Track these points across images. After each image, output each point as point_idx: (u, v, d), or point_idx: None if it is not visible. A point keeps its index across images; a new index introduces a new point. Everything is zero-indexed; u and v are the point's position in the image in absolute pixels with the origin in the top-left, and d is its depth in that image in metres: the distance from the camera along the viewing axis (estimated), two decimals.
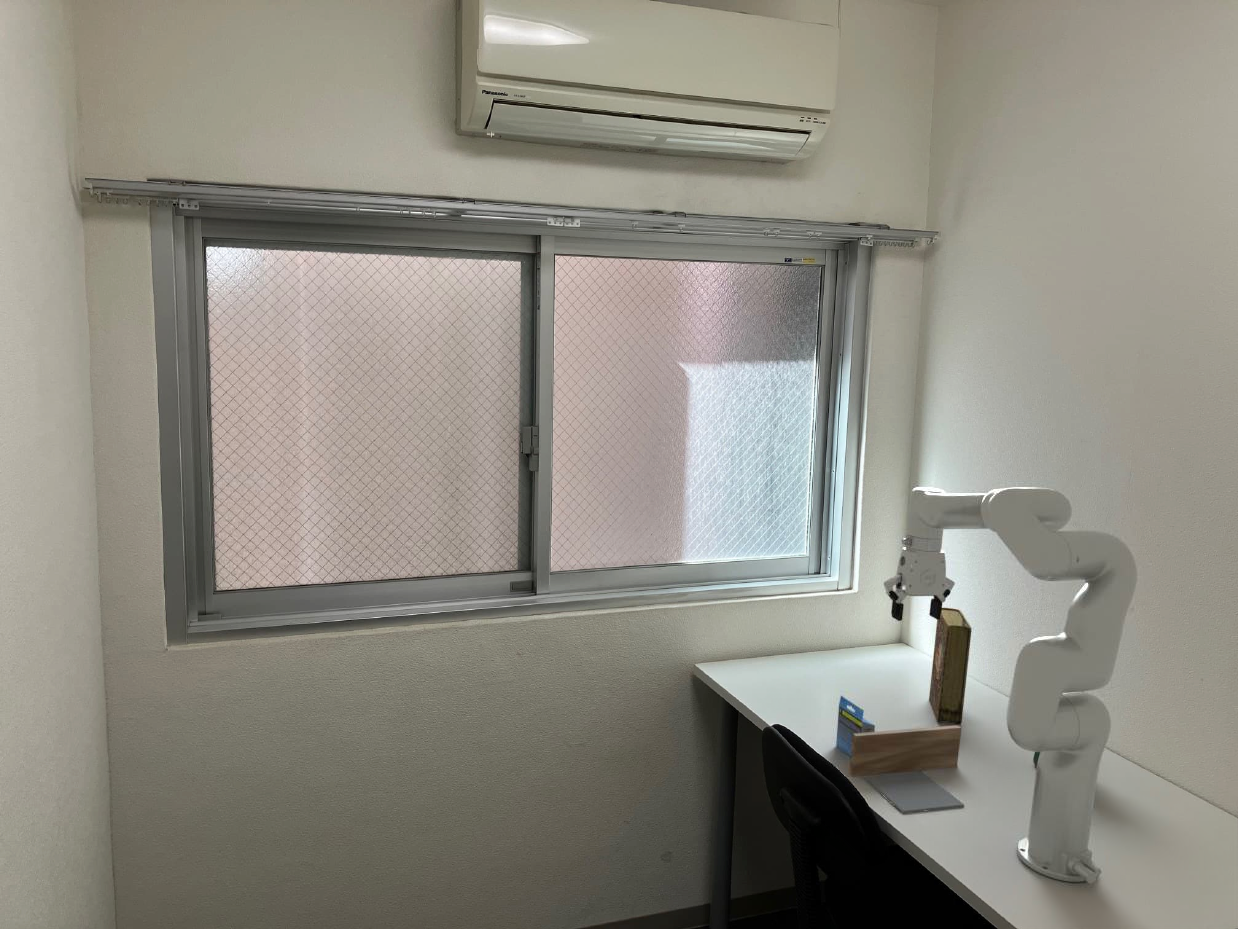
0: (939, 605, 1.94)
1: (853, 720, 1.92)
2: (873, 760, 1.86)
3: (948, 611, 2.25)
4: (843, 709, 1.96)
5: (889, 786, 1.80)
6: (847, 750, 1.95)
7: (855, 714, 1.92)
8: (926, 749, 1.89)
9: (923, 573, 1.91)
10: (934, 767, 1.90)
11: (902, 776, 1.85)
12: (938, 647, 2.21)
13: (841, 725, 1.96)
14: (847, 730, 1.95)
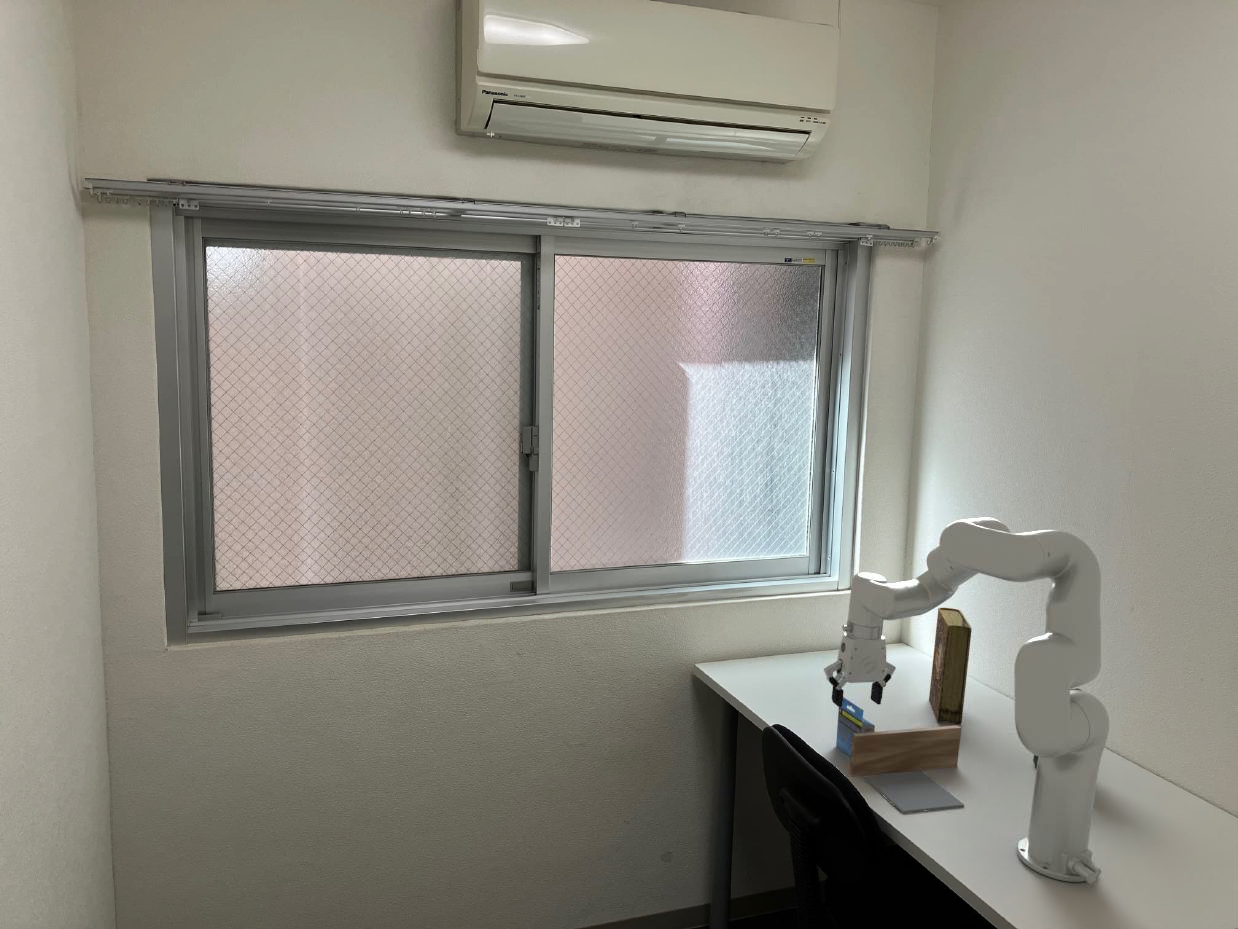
0: (880, 691, 1.94)
1: (853, 720, 1.92)
2: (873, 760, 1.86)
3: (948, 611, 2.25)
4: (843, 709, 1.96)
5: (889, 786, 1.80)
6: (847, 750, 1.95)
7: (855, 714, 1.92)
8: (926, 749, 1.89)
9: (863, 660, 1.90)
10: (934, 767, 1.90)
11: (902, 776, 1.85)
12: (938, 647, 2.21)
13: (841, 725, 1.96)
14: (847, 730, 1.95)
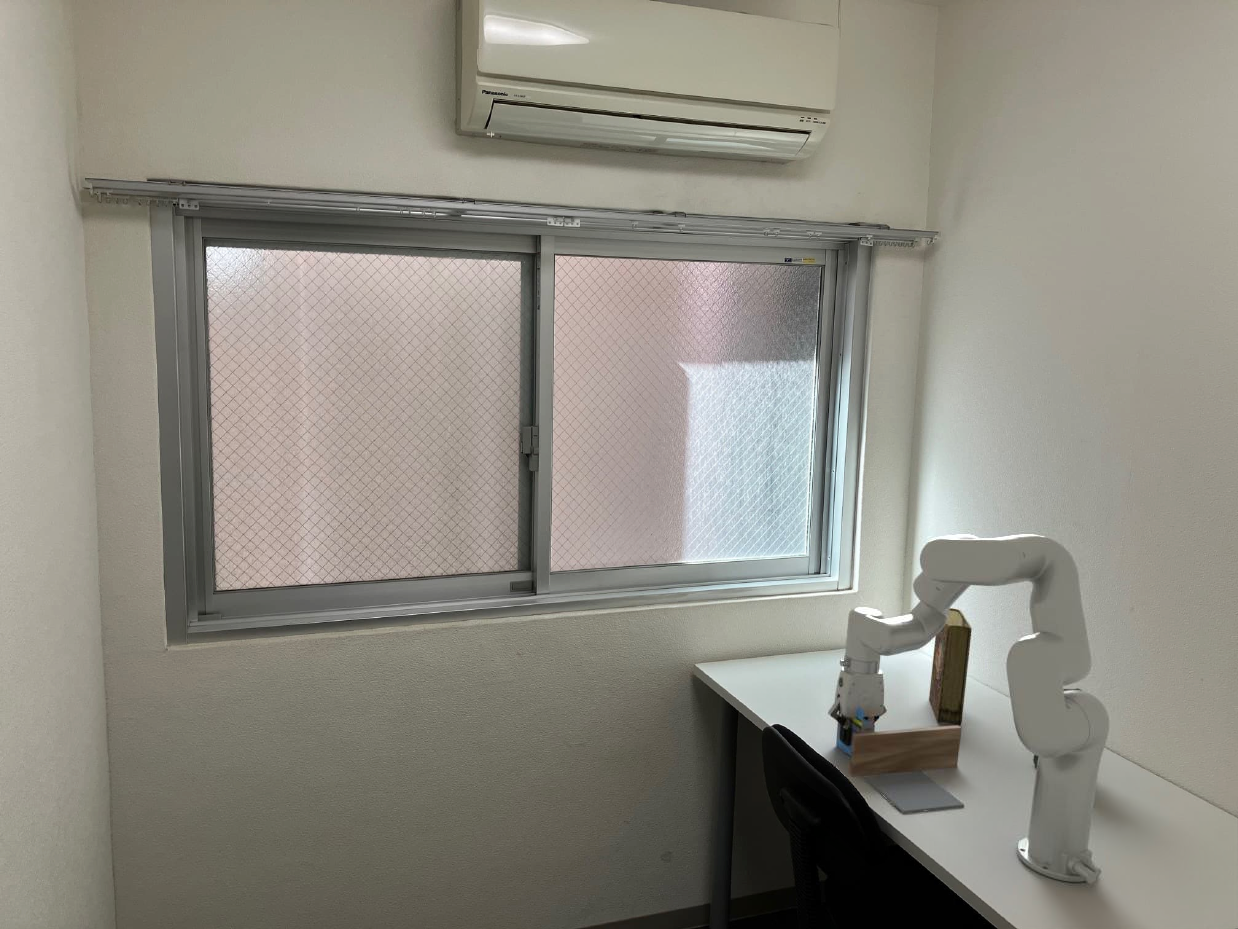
0: None
1: (853, 720, 1.92)
2: (873, 760, 1.86)
3: None
4: None
5: (889, 786, 1.80)
6: (847, 750, 1.95)
7: None
8: (926, 749, 1.89)
9: (861, 695, 1.91)
10: (934, 767, 1.90)
11: (902, 776, 1.85)
12: (938, 647, 2.21)
13: None
14: None
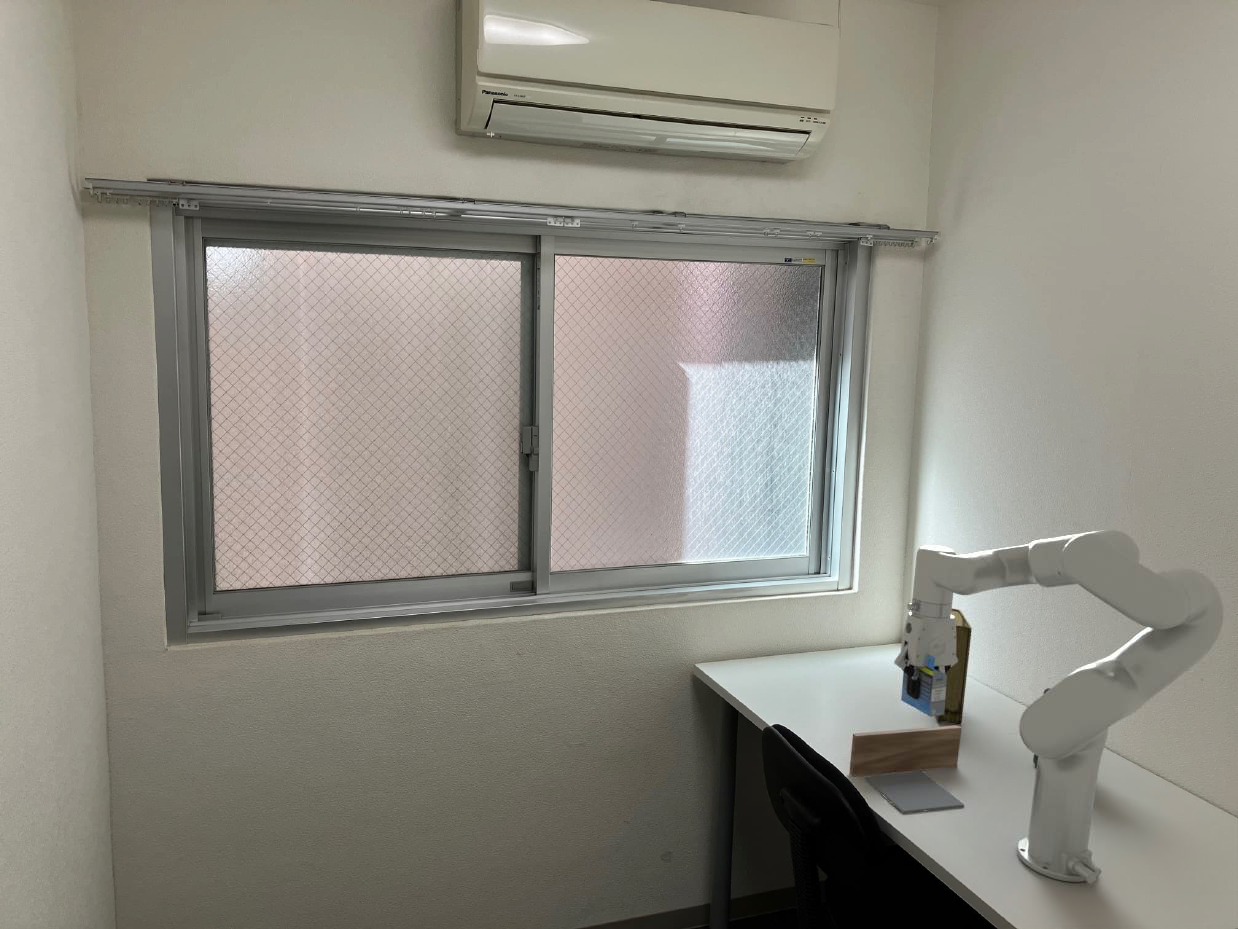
0: None
1: (922, 670, 1.74)
2: (873, 760, 1.86)
3: None
4: None
5: (889, 786, 1.80)
6: (915, 704, 1.76)
7: None
8: (926, 749, 1.89)
9: (932, 642, 1.72)
10: (934, 767, 1.90)
11: (902, 776, 1.85)
12: None
13: None
14: None
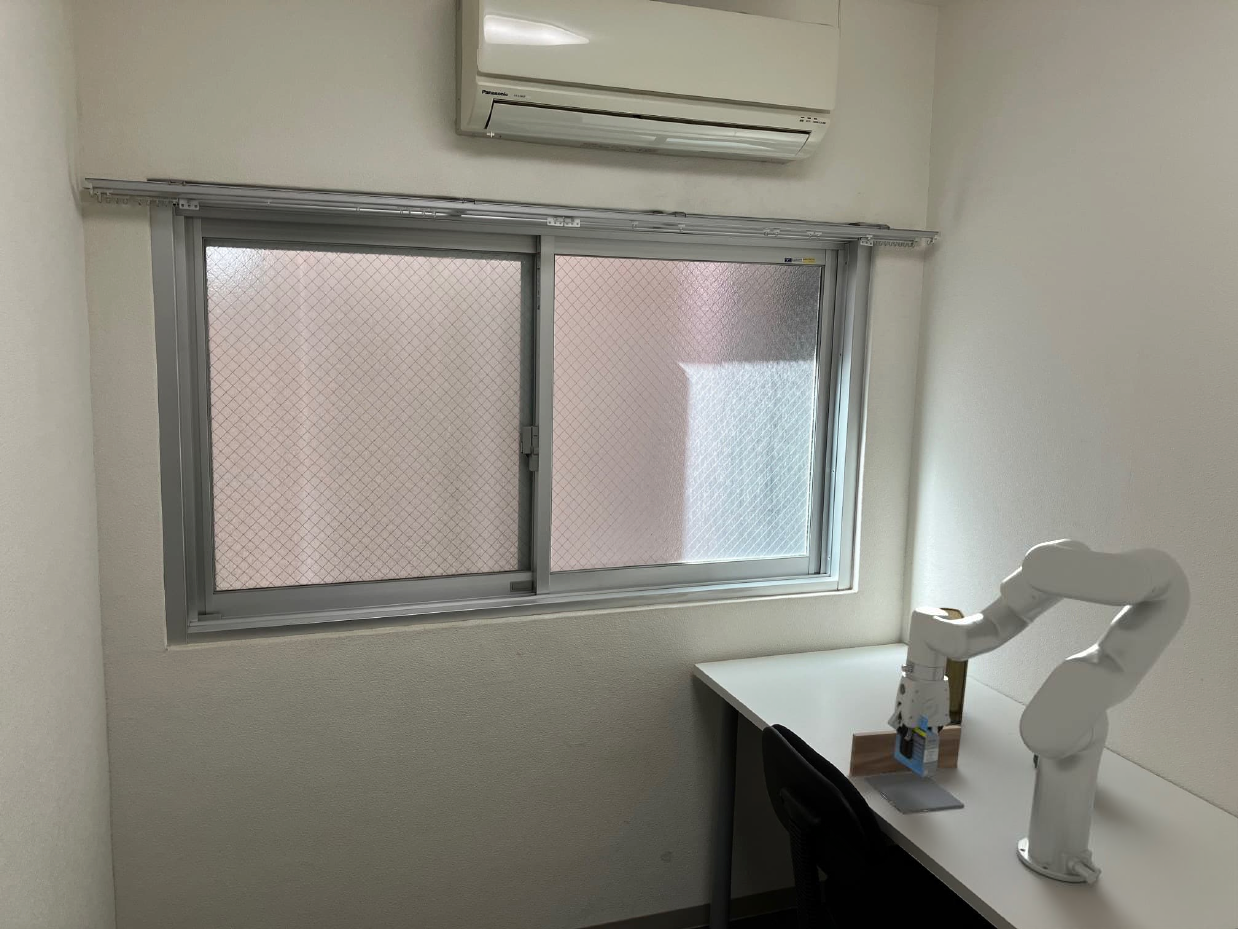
0: None
1: (915, 730, 1.75)
2: (873, 760, 1.86)
3: (948, 611, 2.25)
4: None
5: (889, 786, 1.80)
6: (908, 763, 1.78)
7: None
8: None
9: (925, 703, 1.74)
10: None
11: (902, 776, 1.85)
12: None
13: None
14: None
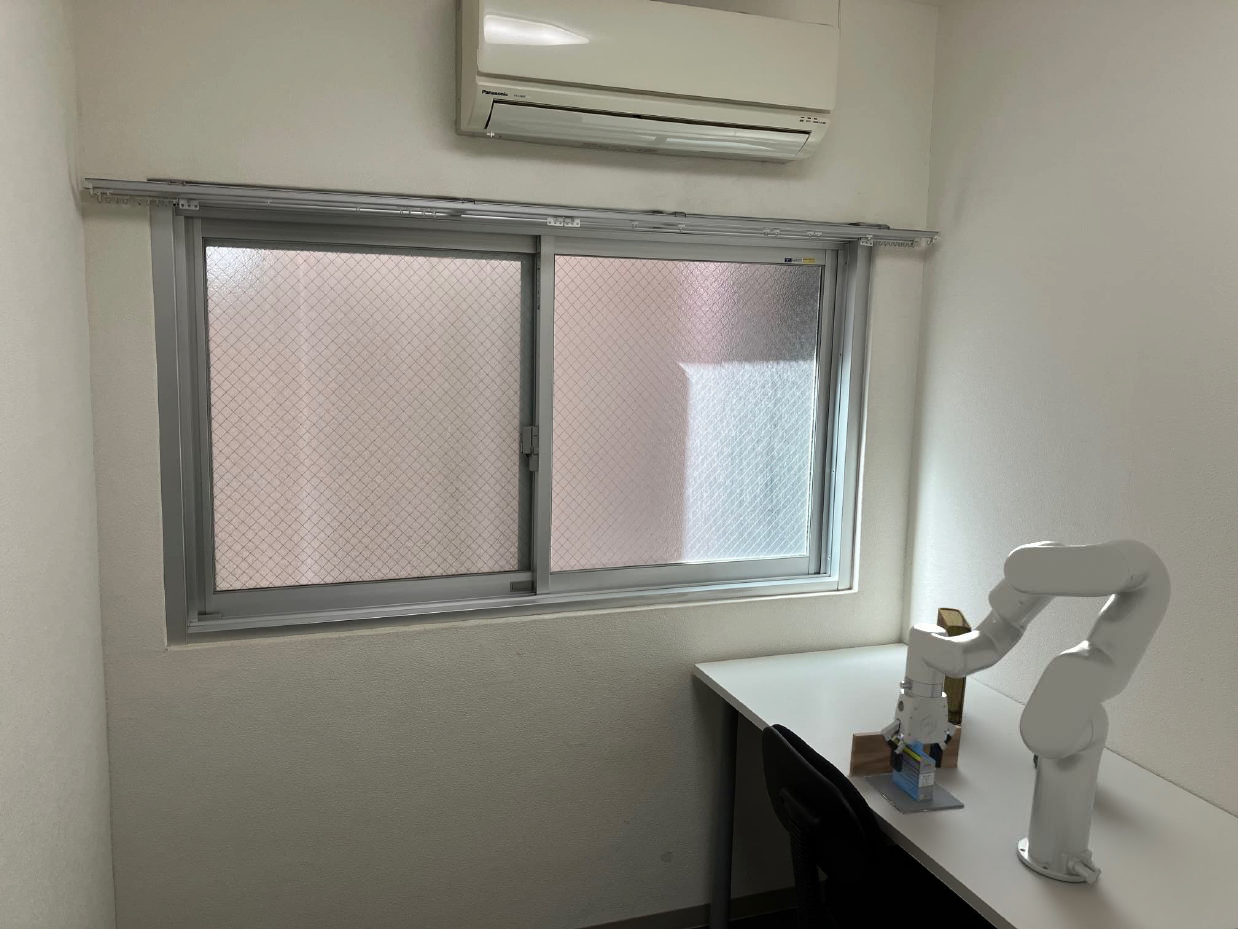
0: (940, 754, 1.78)
1: (911, 754, 1.76)
2: (873, 760, 1.86)
3: (948, 611, 2.25)
4: None
5: (889, 786, 1.80)
6: (904, 787, 1.78)
7: (914, 748, 1.75)
8: (926, 749, 1.89)
9: (923, 720, 1.74)
10: None
11: None
12: None
13: None
14: (904, 764, 1.78)
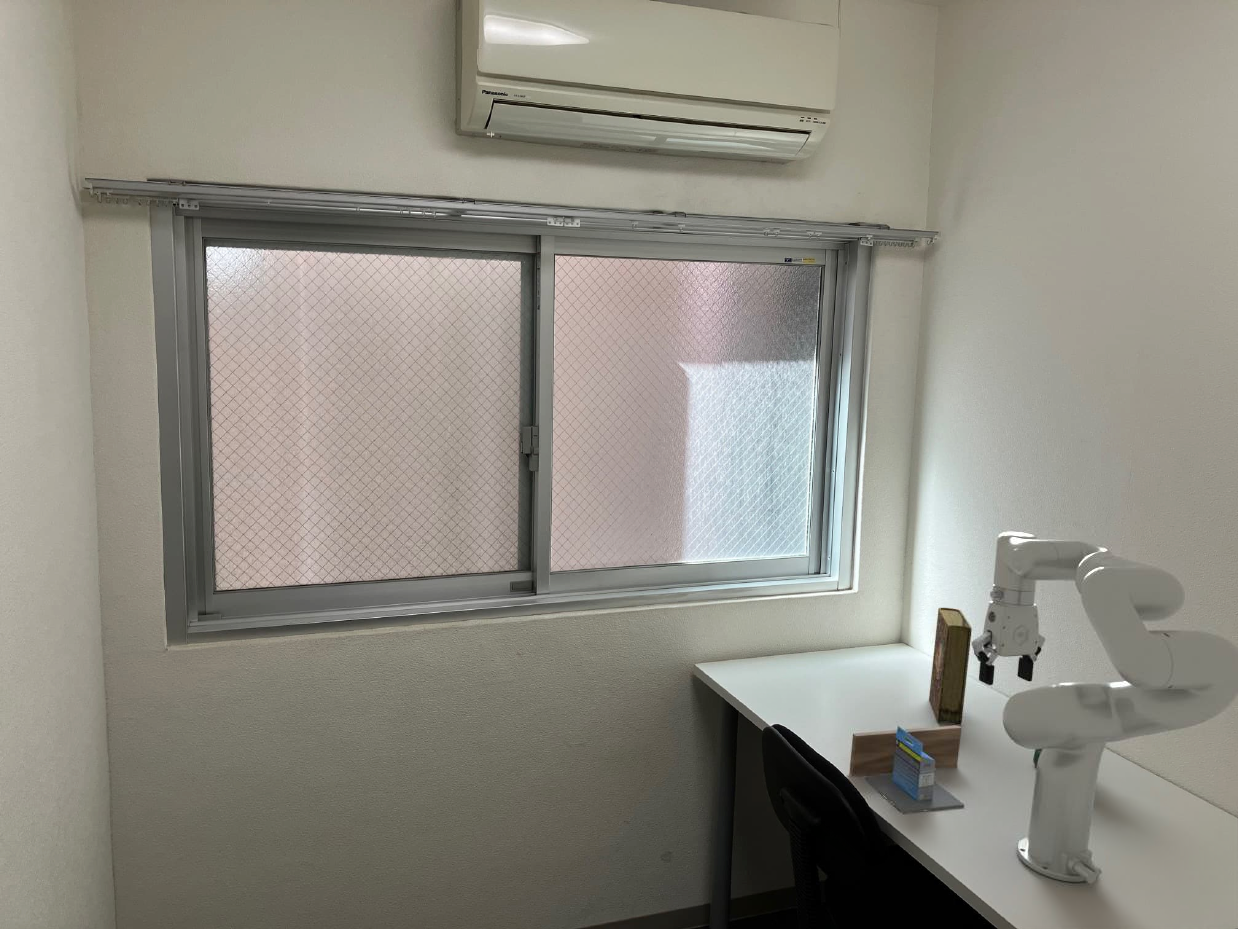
0: (1031, 665, 1.72)
1: (911, 754, 1.76)
2: (873, 760, 1.86)
3: (948, 611, 2.25)
4: (900, 741, 1.79)
5: (889, 786, 1.80)
6: (904, 787, 1.78)
7: (914, 748, 1.75)
8: (926, 749, 1.89)
9: (1016, 630, 1.68)
10: None
11: None
12: (938, 647, 2.21)
13: (898, 758, 1.80)
14: (904, 764, 1.78)
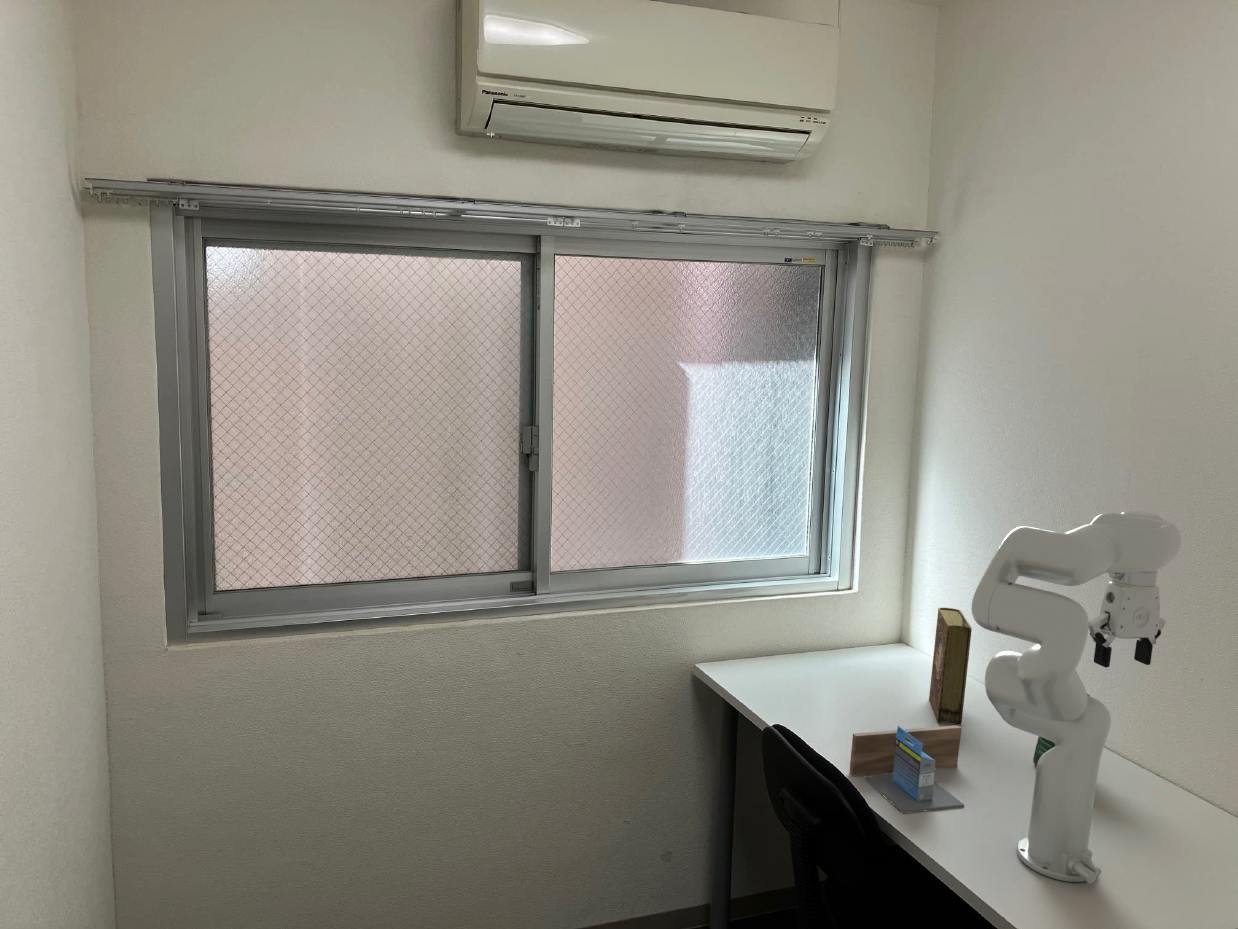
0: (1150, 649, 1.67)
1: (911, 754, 1.76)
2: (873, 760, 1.86)
3: (948, 611, 2.25)
4: (900, 741, 1.79)
5: (889, 786, 1.80)
6: (904, 787, 1.78)
7: (914, 748, 1.75)
8: (926, 749, 1.89)
9: (1136, 612, 1.63)
10: None
11: None
12: (938, 647, 2.21)
13: (898, 758, 1.80)
14: (904, 764, 1.78)
